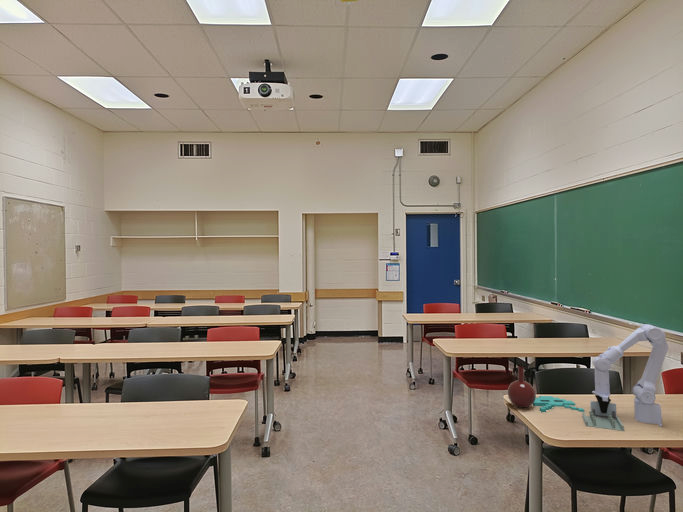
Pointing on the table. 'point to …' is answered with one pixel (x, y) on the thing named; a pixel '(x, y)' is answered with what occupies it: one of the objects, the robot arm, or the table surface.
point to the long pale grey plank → (597, 408)
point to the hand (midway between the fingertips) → (603, 412)
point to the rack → (603, 422)
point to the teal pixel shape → (554, 403)
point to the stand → (603, 416)
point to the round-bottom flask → (521, 391)
